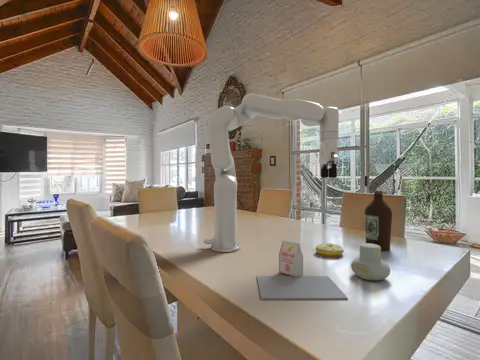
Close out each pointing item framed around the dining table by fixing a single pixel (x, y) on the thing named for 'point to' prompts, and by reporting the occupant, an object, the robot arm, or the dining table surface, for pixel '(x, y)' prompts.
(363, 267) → the air freshener
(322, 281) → the mat
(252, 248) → the dining table surface
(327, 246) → the decorated donut
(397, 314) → the dining table surface
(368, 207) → the olive oil
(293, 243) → the white paper carton
